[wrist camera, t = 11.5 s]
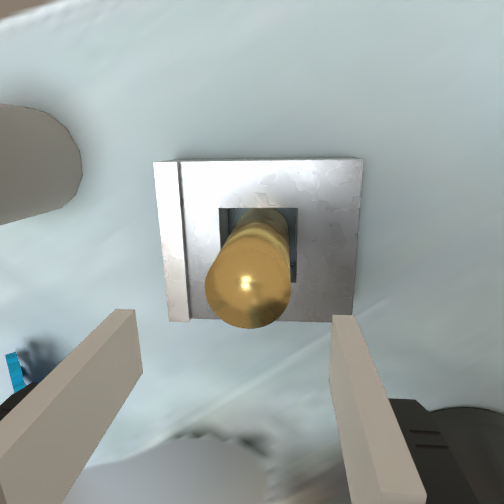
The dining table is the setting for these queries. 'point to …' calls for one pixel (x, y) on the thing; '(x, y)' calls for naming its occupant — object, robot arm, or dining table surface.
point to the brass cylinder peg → (252, 271)
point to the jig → (261, 196)
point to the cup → (35, 163)
